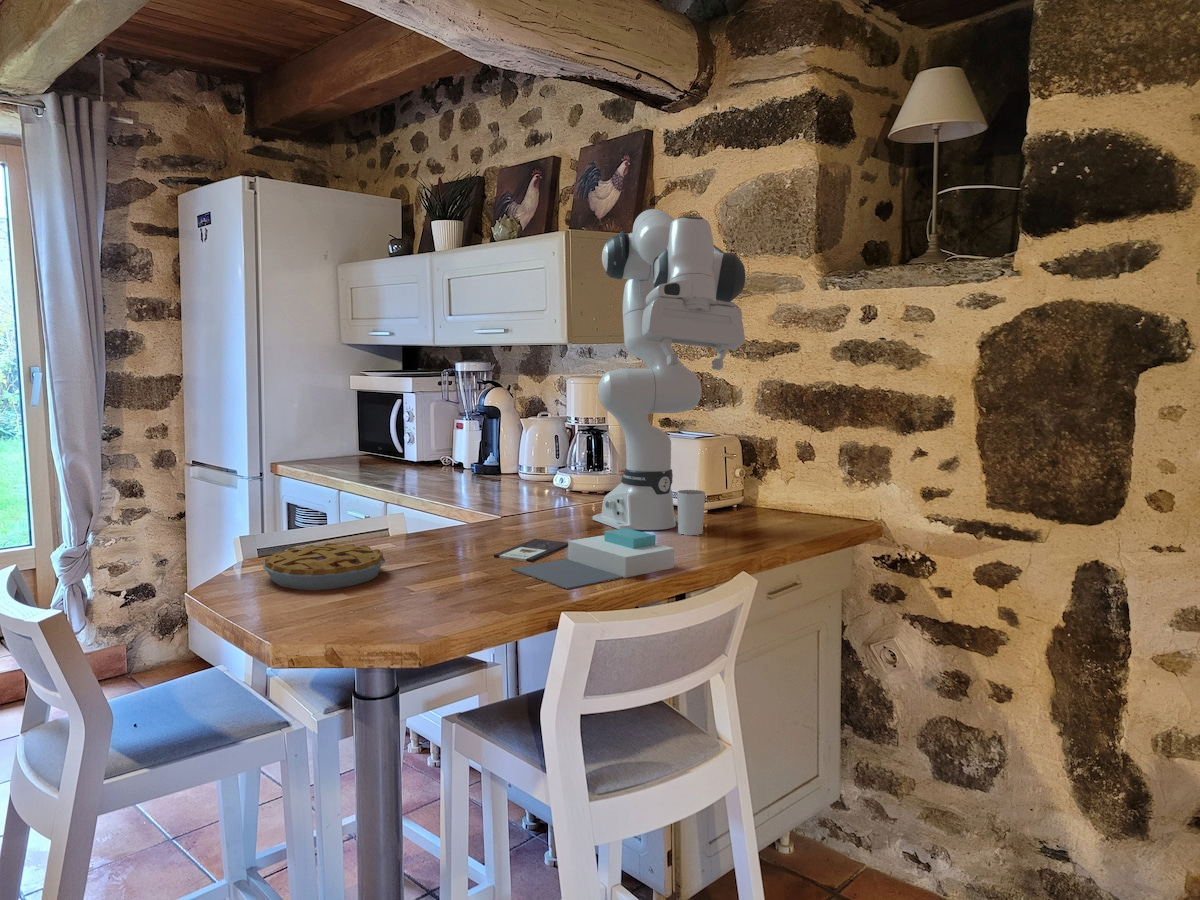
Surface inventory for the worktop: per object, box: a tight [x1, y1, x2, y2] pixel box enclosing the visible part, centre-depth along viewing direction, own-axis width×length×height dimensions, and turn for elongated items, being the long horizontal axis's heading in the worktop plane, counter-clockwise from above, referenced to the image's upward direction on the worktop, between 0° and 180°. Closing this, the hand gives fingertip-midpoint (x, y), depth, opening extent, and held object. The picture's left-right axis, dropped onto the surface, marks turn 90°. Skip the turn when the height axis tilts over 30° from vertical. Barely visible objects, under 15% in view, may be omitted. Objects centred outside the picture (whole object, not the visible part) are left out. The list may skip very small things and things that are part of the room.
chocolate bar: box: [493, 538, 568, 563], centre depth 190 cm, size 9×1×18 cm
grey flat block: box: [567, 534, 675, 578], centre depth 179 cm, size 18×13×4 cm
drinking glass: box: [676, 489, 706, 536], centre depth 210 cm, size 7×7×10 cm
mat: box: [511, 558, 624, 590], centre depth 171 cm, size 18×14×1 cm
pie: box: [262, 543, 386, 591], centre depth 166 cm, size 22×22×5 cm
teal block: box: [604, 528, 656, 549], centre depth 181 cm, size 9×6×2 cm, turn 40°
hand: (695, 366), depth 165 cm, fingers open, 8 cm apart
